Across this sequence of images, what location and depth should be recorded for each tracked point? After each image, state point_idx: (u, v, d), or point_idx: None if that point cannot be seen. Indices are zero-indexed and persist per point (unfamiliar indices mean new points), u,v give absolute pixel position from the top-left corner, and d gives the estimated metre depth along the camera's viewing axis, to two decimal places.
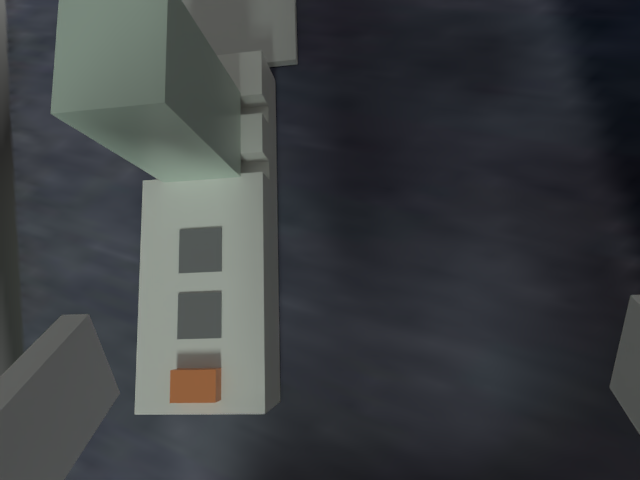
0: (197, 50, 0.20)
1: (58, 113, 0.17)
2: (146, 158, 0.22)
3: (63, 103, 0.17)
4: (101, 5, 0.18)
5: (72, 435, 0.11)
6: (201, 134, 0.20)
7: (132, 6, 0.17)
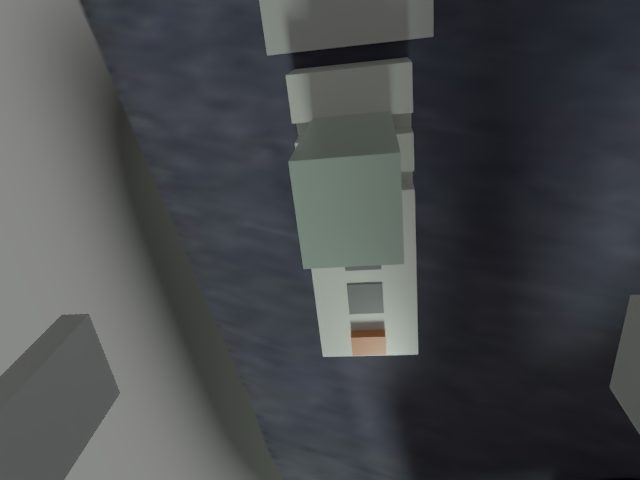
0: None
1: (309, 268, 0.21)
2: None
3: (313, 261, 0.20)
4: (334, 175, 0.19)
5: (72, 435, 0.11)
6: None
7: (366, 178, 0.19)
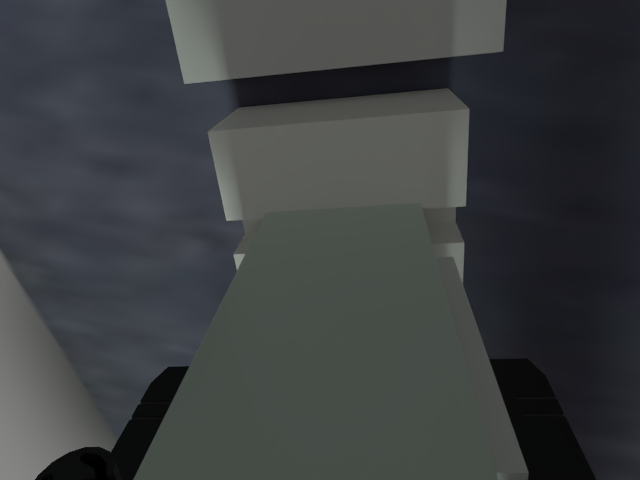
0: None
1: None
2: None
3: None
4: None
5: None
6: None
7: None
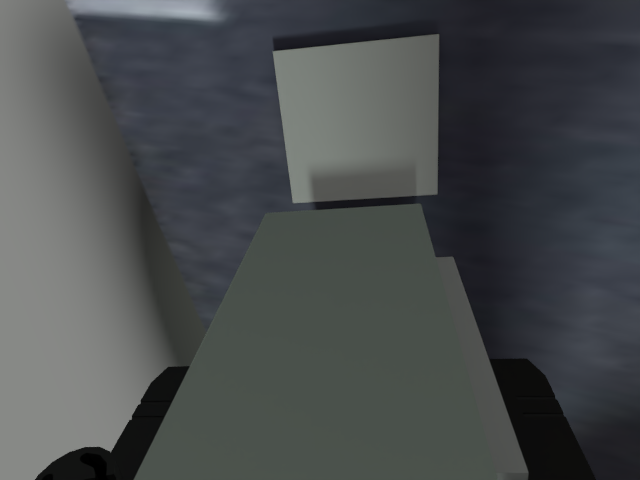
0: None
1: None
2: None
3: None
4: None
5: None
6: None
7: None
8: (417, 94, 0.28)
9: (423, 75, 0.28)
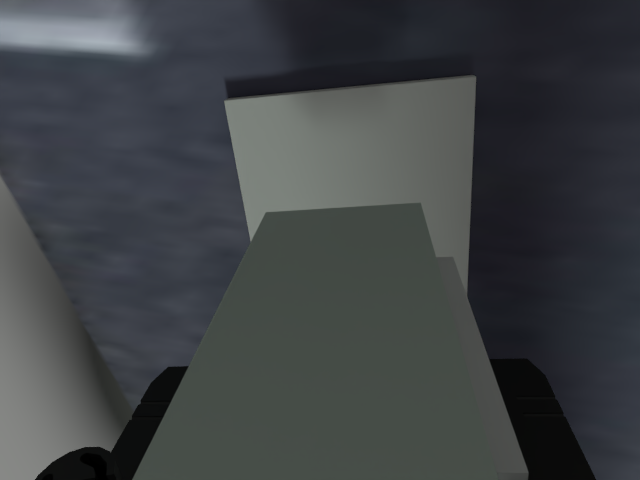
0: None
1: None
2: None
3: None
4: None
5: None
6: None
7: None
8: (441, 163, 0.19)
9: (450, 137, 0.19)
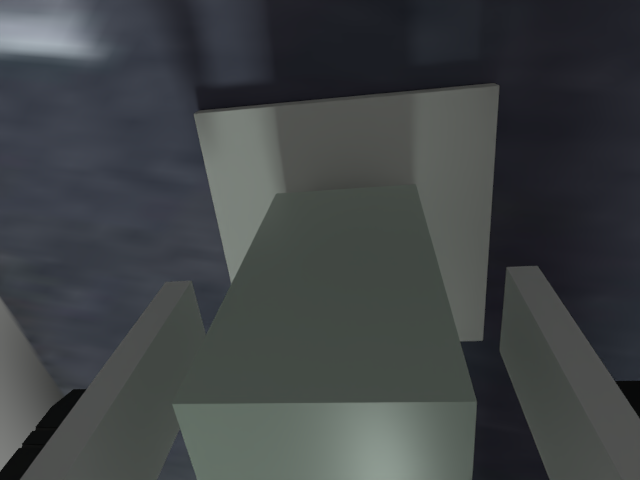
0: None
1: None
2: None
3: None
4: (295, 438, 0.07)
5: None
6: None
7: (379, 448, 0.07)
8: (454, 188, 0.16)
9: (466, 157, 0.15)
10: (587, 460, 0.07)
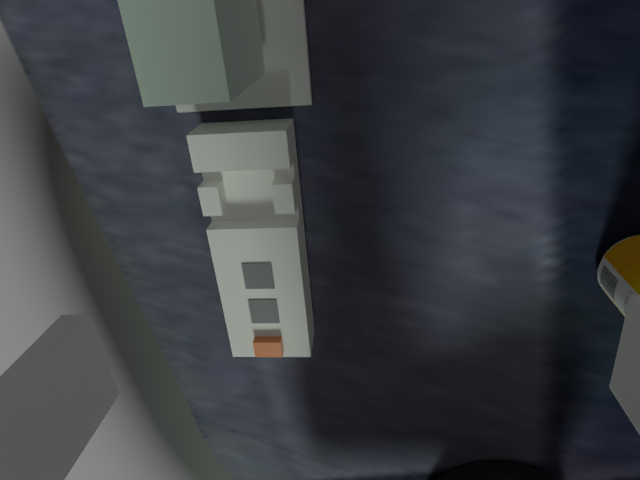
0: (232, 14, 0.23)
1: (149, 106, 0.23)
2: None
3: (151, 99, 0.23)
4: (157, 10, 0.21)
5: (72, 435, 0.11)
6: (245, 85, 0.26)
7: (185, 13, 0.21)
8: (283, 1, 0.30)
9: None
10: None
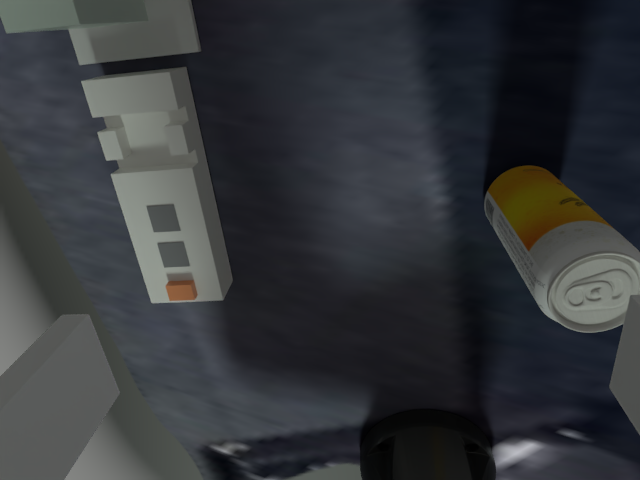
0: None
1: (11, 32, 0.26)
2: None
3: (11, 25, 0.26)
4: None
5: (72, 435, 0.11)
6: (109, 19, 0.28)
7: None
8: None
9: None
10: None
